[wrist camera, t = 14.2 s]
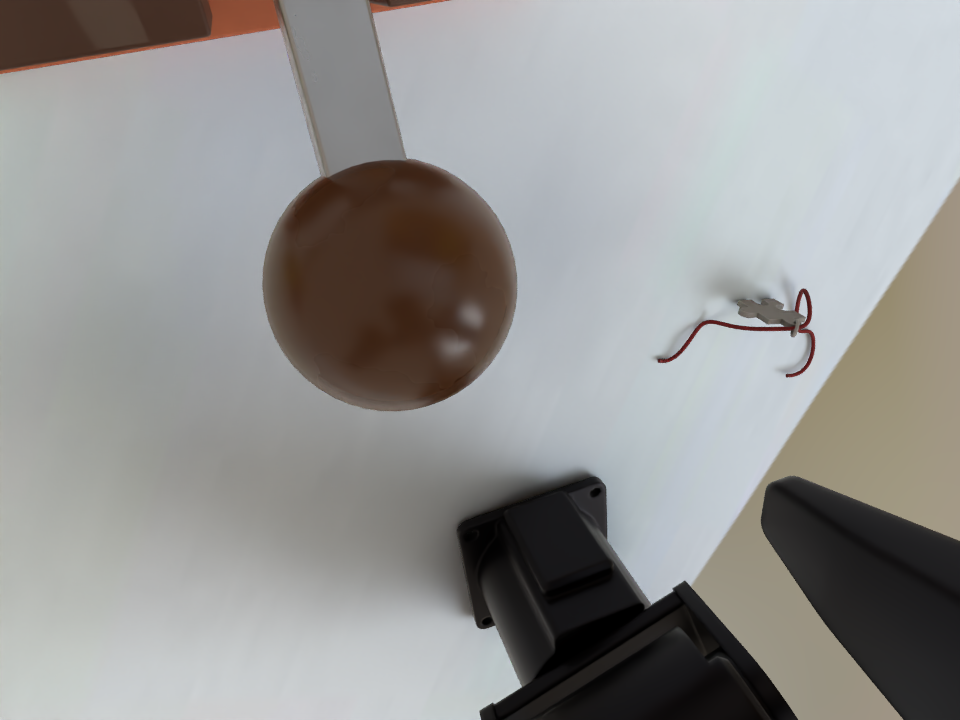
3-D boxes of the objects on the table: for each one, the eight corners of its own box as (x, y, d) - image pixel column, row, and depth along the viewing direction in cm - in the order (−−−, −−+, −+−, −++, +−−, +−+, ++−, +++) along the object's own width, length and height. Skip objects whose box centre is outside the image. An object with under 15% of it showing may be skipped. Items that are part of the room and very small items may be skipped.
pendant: (840, 279, 27) (895, 306, 25) (803, 372, 29) (851, 404, 27) (677, 284, 24) (722, 315, 22) (649, 386, 26) (688, 424, 24)
